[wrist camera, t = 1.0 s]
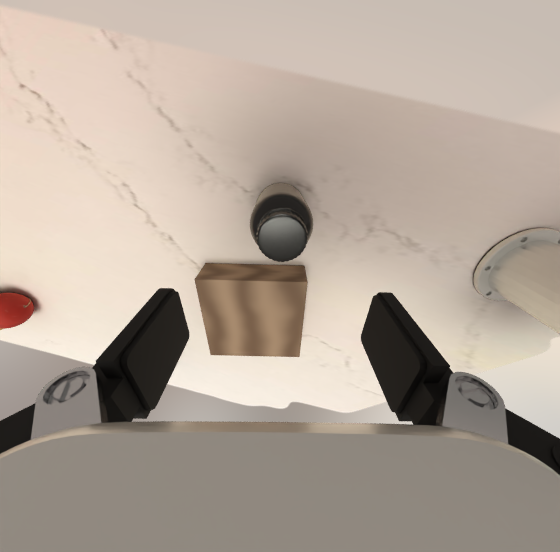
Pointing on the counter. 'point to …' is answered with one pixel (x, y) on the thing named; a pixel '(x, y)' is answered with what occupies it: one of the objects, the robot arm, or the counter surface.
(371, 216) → the counter surface
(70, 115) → the counter surface
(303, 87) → the counter surface
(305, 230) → the supplement bottle
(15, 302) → the kendama
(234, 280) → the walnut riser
